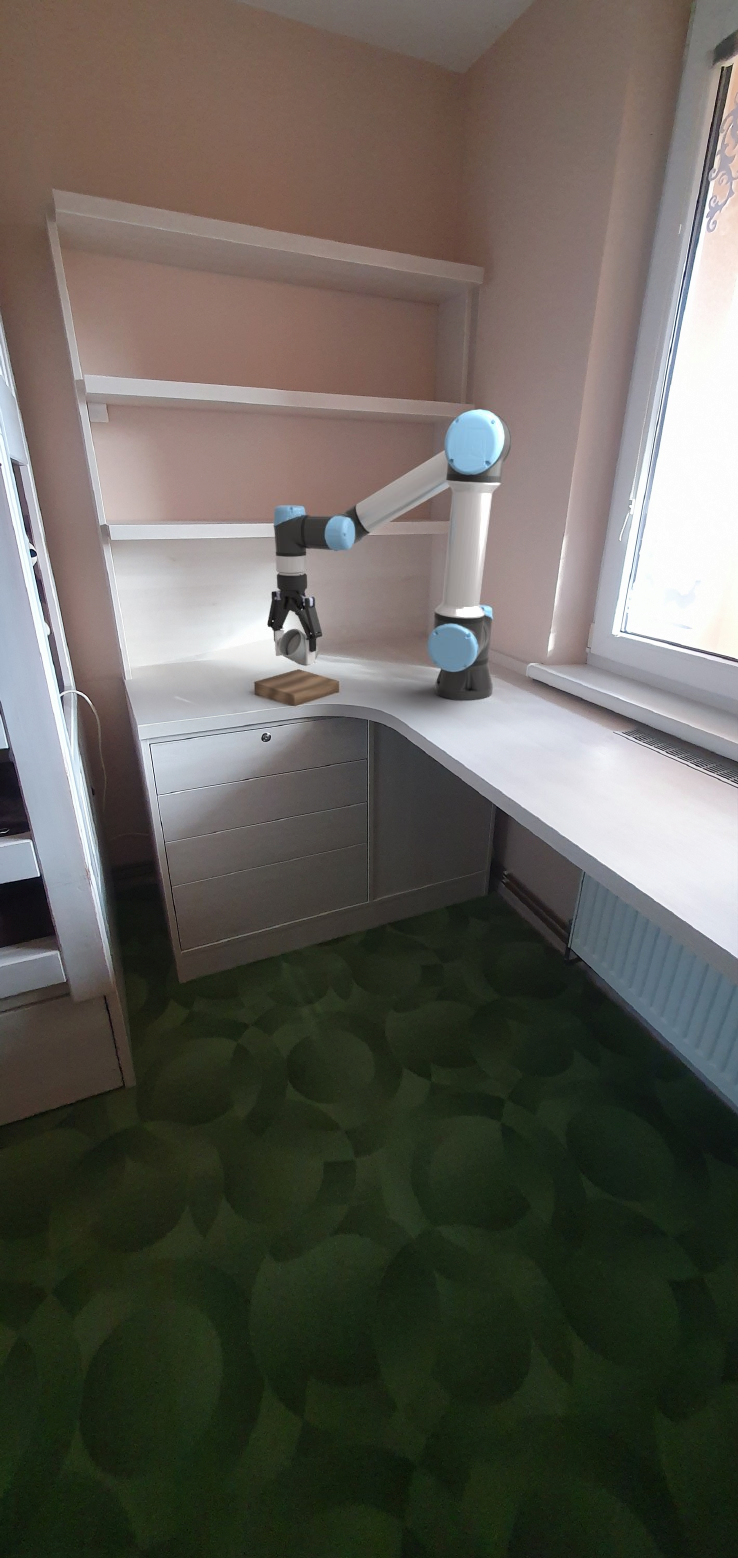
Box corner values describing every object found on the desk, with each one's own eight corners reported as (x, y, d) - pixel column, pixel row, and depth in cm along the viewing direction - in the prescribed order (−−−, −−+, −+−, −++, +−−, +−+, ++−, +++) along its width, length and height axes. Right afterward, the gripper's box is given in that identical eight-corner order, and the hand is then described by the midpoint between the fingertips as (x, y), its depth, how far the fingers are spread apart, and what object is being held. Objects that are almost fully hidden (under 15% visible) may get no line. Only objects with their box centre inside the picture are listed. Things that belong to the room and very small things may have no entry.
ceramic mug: (308, 672, 171) (326, 649, 169) (287, 662, 164) (305, 638, 162) (289, 650, 177) (306, 627, 175) (268, 639, 170) (286, 616, 168)
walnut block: (339, 695, 176) (338, 680, 174) (295, 710, 165) (294, 695, 164) (299, 682, 186) (298, 669, 184) (255, 696, 175) (254, 681, 173)
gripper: (335, 576, 157) (337, 665, 167) (272, 566, 171) (277, 648, 181) (313, 580, 152) (315, 671, 162) (249, 569, 166) (255, 653, 176)
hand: (295, 659), depth 171 cm, fingers closed on ceramic mug, 11 cm apart
